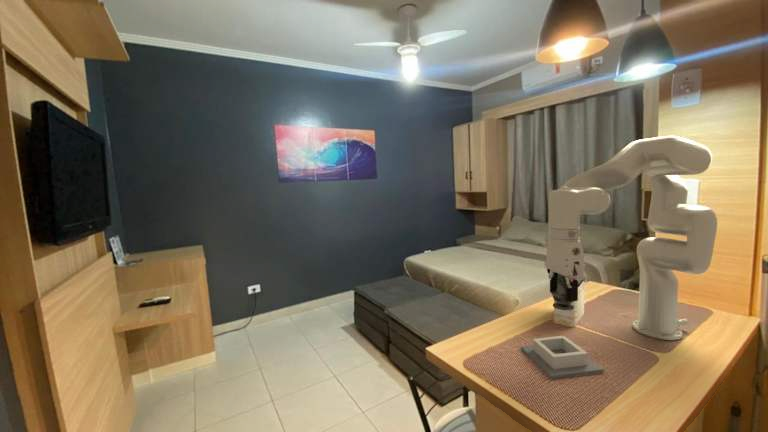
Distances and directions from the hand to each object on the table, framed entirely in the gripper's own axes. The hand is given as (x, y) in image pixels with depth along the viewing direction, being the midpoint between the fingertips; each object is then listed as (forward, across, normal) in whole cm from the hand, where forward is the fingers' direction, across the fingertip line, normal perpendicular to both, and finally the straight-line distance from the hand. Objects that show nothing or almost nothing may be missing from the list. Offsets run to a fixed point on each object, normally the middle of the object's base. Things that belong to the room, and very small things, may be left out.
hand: (563, 296), depth 88 cm
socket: (+20, +1, +1) cm, 20 cm away
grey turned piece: (+3, 0, 0) cm, 3 cm away
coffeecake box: (+20, +24, -21) cm, 38 cm away
